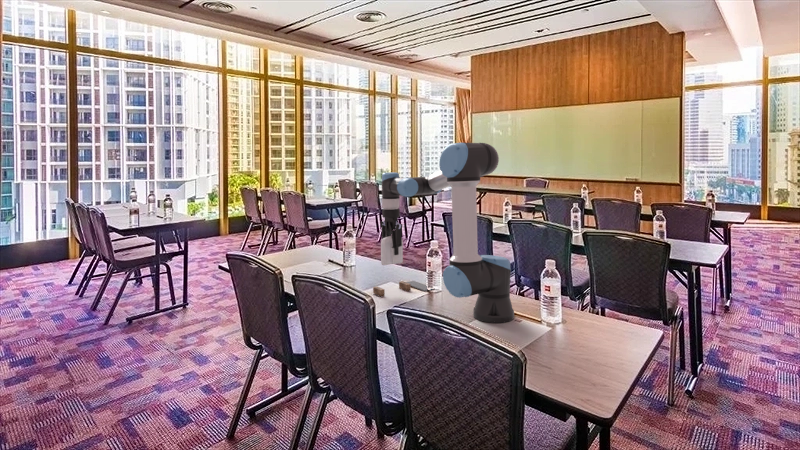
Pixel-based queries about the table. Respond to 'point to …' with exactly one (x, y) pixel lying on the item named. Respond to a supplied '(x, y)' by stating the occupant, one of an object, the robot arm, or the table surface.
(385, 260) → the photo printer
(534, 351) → the table surface
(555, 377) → the table surface
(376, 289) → the cradle
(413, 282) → the mat
